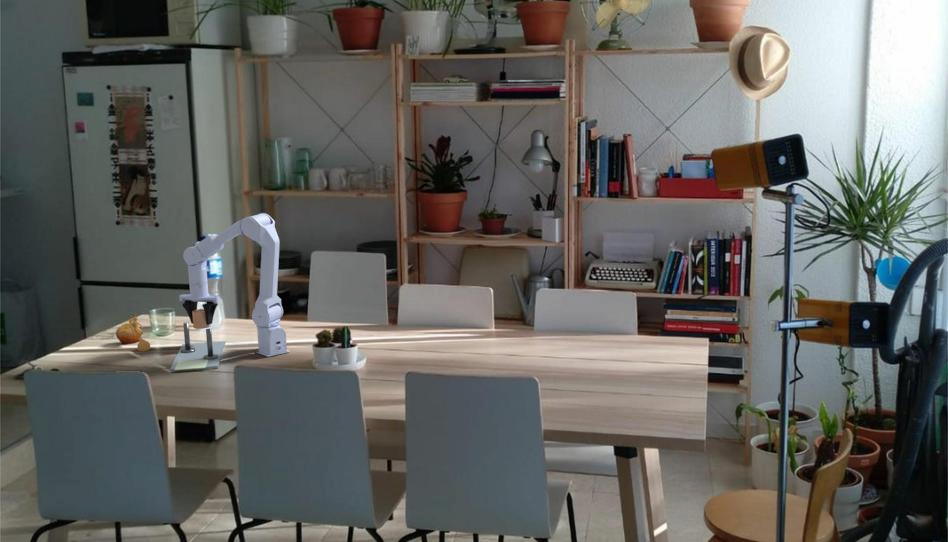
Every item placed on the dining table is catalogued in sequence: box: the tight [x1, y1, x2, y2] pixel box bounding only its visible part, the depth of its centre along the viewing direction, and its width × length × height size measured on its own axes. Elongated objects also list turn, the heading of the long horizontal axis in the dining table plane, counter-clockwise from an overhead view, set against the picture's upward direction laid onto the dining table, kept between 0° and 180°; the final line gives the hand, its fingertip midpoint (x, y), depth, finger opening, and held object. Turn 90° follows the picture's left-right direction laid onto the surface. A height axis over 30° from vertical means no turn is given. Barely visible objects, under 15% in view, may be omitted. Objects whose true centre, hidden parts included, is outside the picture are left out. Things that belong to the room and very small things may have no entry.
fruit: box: [115, 322, 142, 346], centre depth 341 cm, size 8×8×8 cm
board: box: [169, 340, 227, 373], centre depth 322 cm, size 30×14×1 cm, turn 9°
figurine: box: [128, 316, 151, 352], centre depth 328 cm, size 8×6×12 cm
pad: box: [174, 359, 208, 370], centre depth 310 cm, size 9×9×1 cm
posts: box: [181, 322, 218, 360], centre depth 321 cm, size 17×4×9 cm, turn 47°
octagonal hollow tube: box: [192, 308, 212, 330], centre depth 332 cm, size 5×5×6 cm
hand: (201, 323), depth 332 cm, fingers closed on octagonal hollow tube, 5 cm apart
